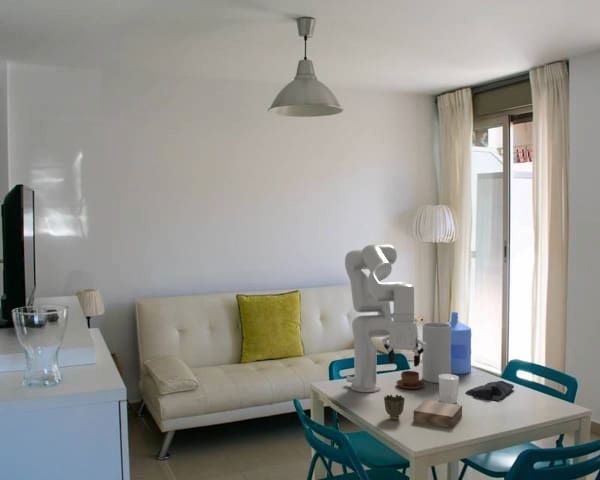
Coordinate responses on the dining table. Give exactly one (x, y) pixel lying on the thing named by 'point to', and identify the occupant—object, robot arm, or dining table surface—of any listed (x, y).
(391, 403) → the cup
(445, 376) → the white cup
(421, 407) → the walnut plinth
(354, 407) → the dining table surface
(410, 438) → the dining table surface
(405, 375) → the cup and saucer
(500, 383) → the black crumpled fabric piece
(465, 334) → the water jug
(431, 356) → the cylinder vase
